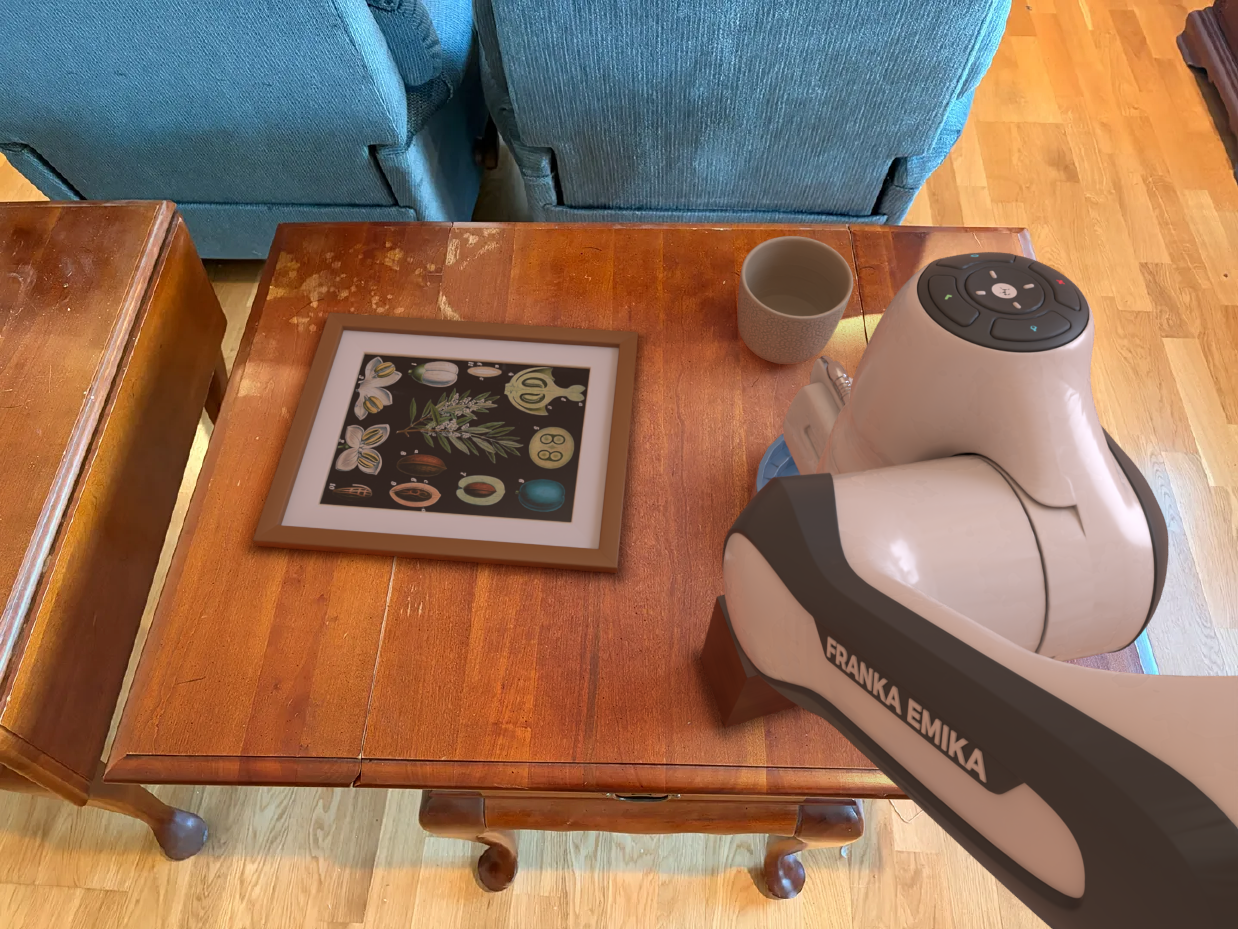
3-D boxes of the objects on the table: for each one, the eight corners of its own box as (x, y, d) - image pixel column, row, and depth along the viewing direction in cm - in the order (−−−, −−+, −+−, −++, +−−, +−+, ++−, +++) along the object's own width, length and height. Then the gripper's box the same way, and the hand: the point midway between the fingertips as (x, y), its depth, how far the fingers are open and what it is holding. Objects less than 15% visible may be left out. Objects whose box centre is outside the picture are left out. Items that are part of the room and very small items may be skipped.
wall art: (329, 311, 102) (638, 331, 101) (332, 319, 104) (638, 339, 102) (251, 540, 87) (617, 568, 85) (257, 546, 88) (617, 573, 86)
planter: (709, 341, 102) (718, 278, 93) (770, 284, 107) (785, 219, 97) (792, 397, 98) (810, 337, 88) (852, 335, 102) (875, 272, 93)
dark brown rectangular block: (871, 683, 81) (923, 626, 67) (724, 728, 78) (747, 678, 65) (841, 617, 84) (885, 549, 70) (700, 658, 82) (716, 596, 68)
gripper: (779, 352, 53) (749, 462, 65) (925, 653, 43) (859, 718, 55) (870, 330, 54) (824, 443, 66) (1034, 621, 44) (945, 692, 56)
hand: (841, 570), depth 61 cm, fingers open, 8 cm apart
